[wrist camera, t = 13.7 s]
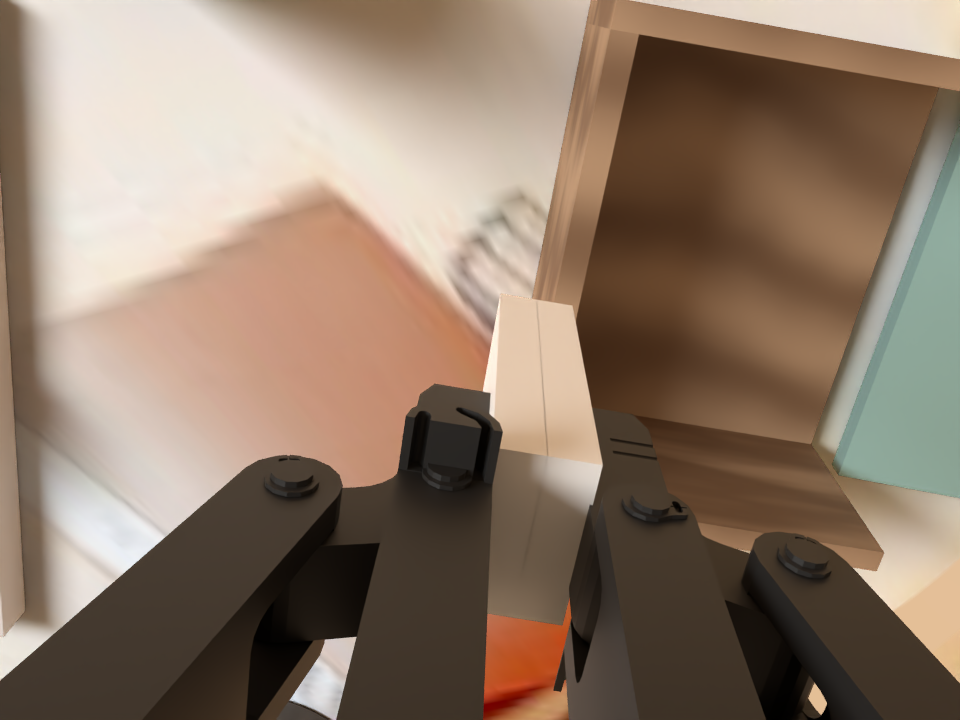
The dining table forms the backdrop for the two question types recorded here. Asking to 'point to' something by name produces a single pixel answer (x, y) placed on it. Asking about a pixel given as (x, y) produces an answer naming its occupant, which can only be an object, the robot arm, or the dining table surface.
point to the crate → (730, 246)
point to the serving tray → (8, 472)
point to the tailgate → (916, 364)
